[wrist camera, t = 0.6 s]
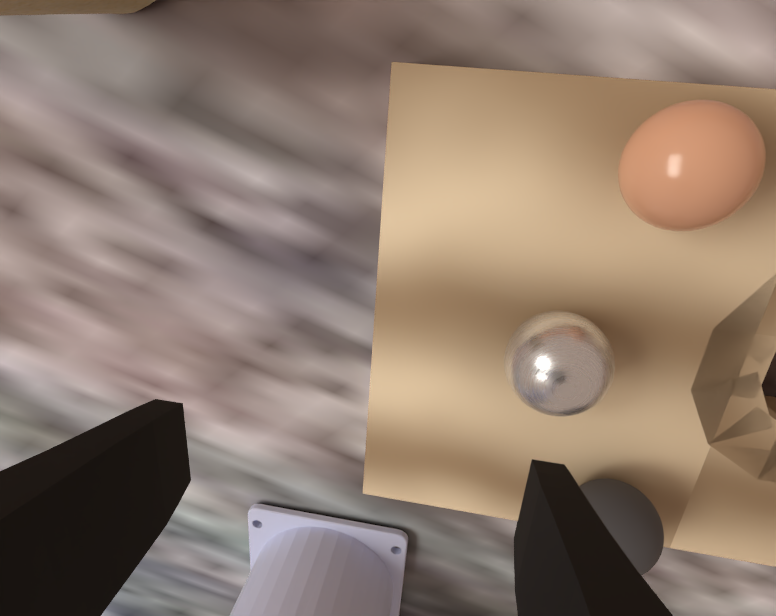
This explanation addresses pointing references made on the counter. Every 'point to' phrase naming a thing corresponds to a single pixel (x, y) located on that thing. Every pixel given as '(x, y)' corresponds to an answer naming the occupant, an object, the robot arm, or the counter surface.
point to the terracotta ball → (691, 165)
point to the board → (568, 306)
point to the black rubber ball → (628, 520)
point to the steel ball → (559, 363)
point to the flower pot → (71, 6)
